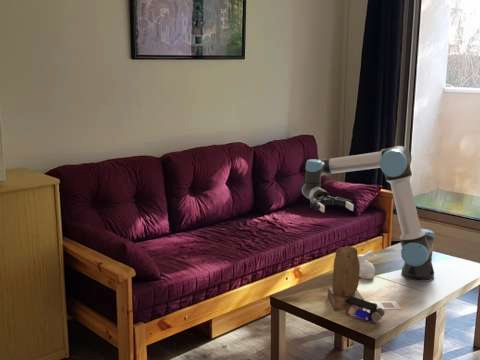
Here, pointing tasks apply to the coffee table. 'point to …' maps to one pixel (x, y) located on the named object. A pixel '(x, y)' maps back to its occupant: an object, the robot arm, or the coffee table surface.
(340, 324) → the coffee table surface
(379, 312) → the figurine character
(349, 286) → the block
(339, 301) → the tower base
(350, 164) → the robot arm
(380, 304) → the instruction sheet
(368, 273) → the rabbit
